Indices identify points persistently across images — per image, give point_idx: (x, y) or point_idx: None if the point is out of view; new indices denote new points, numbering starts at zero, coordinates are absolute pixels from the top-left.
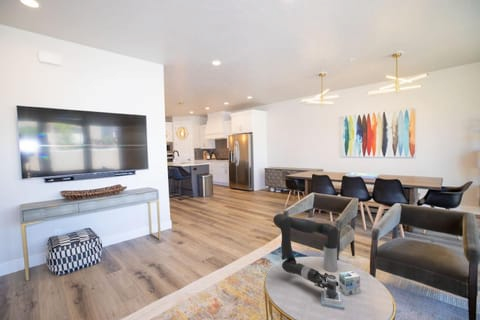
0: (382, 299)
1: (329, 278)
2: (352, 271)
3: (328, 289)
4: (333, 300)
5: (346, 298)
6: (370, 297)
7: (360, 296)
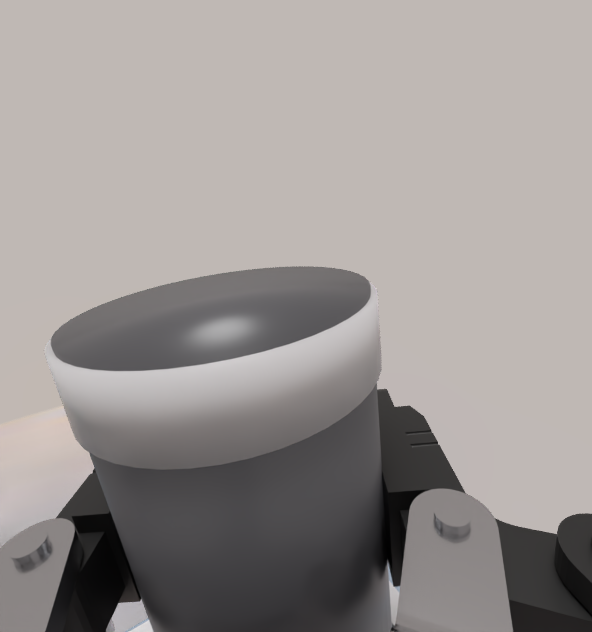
0: (42, 430)
1: (361, 282)
2: None
3: (390, 615)
4: (398, 594)
5: (119, 610)
6: (31, 473)
7: (31, 524)
